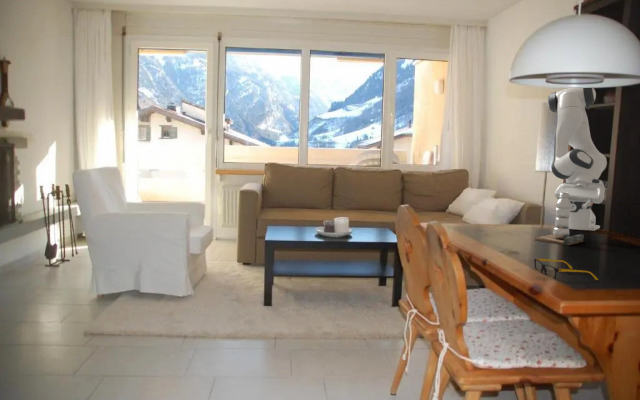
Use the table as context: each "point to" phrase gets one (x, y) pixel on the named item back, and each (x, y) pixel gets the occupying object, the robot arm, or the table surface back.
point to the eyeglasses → (558, 269)
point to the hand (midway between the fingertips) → (572, 206)
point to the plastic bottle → (562, 217)
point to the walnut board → (564, 241)
